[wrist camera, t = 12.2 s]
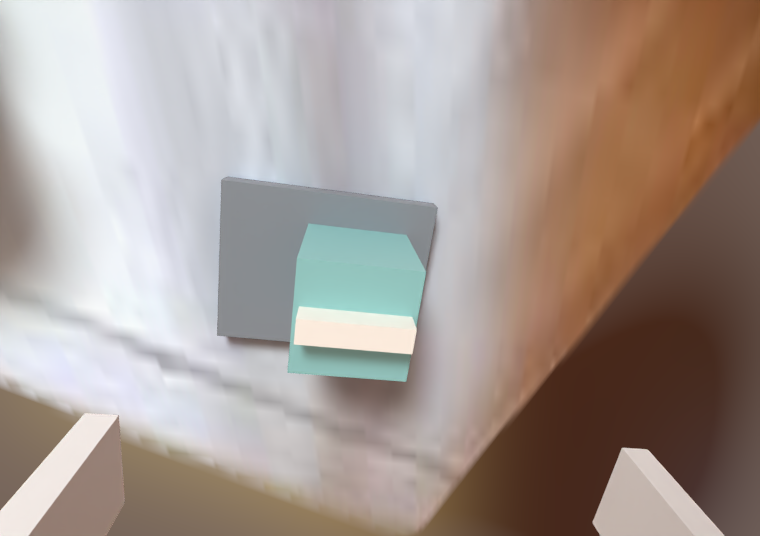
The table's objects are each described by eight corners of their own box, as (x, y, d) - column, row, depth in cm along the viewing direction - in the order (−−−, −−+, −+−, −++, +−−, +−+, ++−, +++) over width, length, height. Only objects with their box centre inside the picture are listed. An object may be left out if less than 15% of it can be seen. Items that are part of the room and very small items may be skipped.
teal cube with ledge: (300, 314, 31) (283, 388, 22) (308, 223, 29) (293, 267, 20) (392, 322, 32) (409, 397, 23) (406, 234, 30) (431, 282, 21)
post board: (227, 176, 29) (196, 192, 23) (433, 203, 31) (455, 225, 24) (222, 325, 32) (194, 374, 26) (407, 342, 34) (421, 392, 28)
